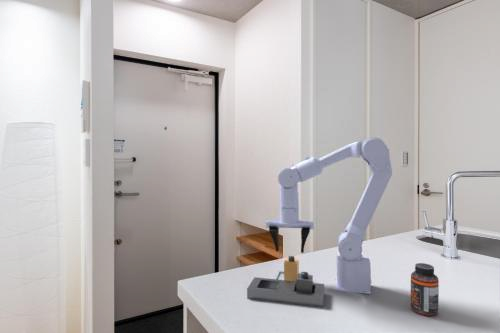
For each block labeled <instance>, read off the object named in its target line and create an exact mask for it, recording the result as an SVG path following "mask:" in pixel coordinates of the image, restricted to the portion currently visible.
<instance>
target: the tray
mask: <svg viewBox="0 0 500 333" xmlns="http://www.w3.org/2000/svg"><path fill="white" fill-rule="evenodd" d="M301 272H302V271H299V274H301ZM308 275H311V272H308ZM273 279H277V280H284V270H277V271H276V273H275V275H274V277H273Z"/></svg>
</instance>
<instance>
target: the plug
mask: <svg viewBox="0 0 500 333" xmlns="http://www.w3.org/2000/svg"><path fill="white" fill-rule="evenodd" d="M299 264H300V259H299V258H295V256H294V255H288V258H287V257H286V258H285V259H284V262H283V271H284V280H288V281H296V279H297V276H298V274H299V272H300V271H299V270H300V268H299V267H300V265H299Z"/></svg>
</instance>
